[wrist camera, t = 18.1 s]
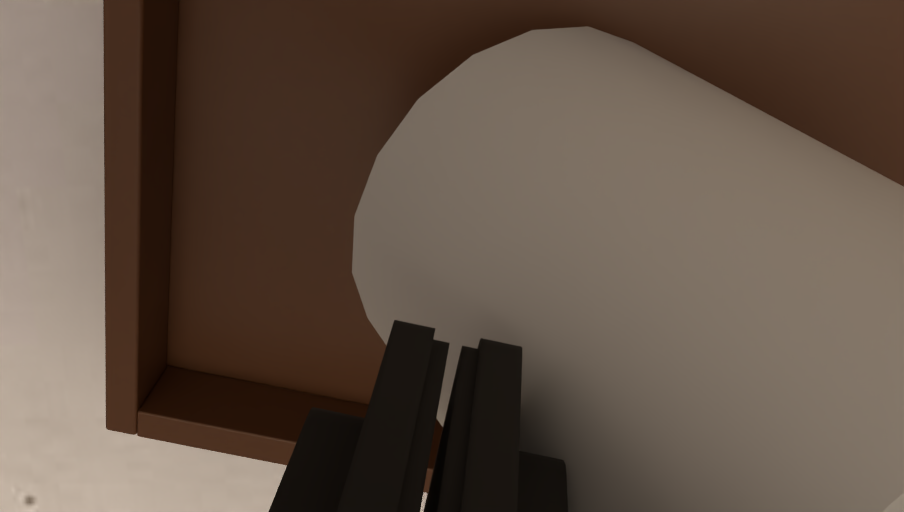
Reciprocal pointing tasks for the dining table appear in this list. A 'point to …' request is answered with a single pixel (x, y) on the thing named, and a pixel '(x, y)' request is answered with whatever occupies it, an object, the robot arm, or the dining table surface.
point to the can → (650, 278)
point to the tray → (365, 173)
